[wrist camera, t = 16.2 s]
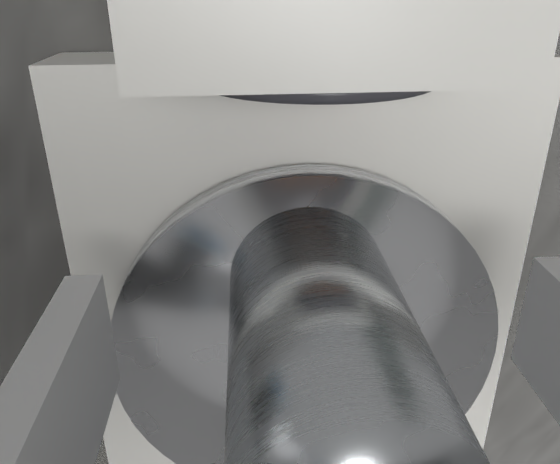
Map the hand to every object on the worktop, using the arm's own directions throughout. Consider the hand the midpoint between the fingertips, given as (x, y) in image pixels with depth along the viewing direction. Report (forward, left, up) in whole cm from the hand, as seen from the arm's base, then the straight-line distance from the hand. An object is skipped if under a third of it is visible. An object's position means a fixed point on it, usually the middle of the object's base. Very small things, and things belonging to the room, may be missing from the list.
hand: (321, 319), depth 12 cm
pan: (0, -3, -3) cm, 4 cm away
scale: (0, -1, -6) cm, 6 cm away
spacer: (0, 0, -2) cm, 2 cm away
